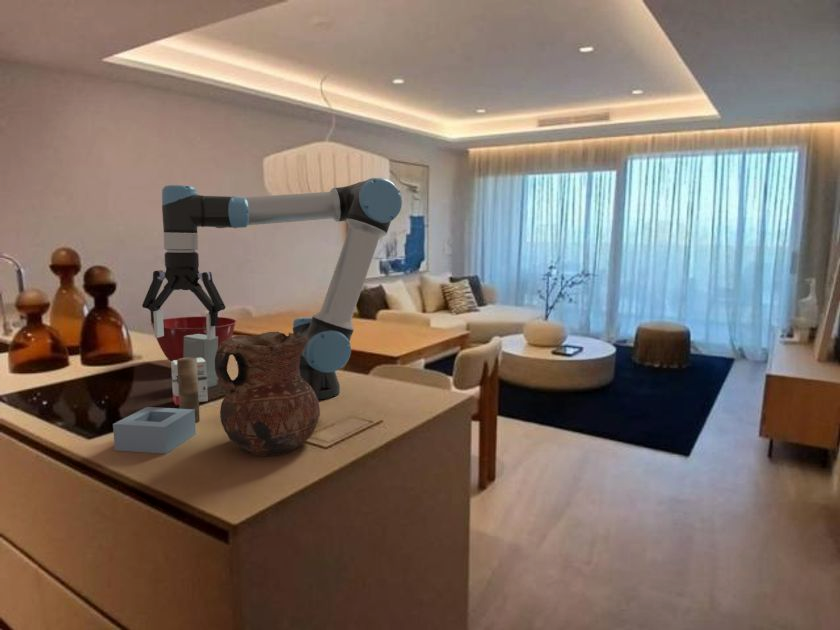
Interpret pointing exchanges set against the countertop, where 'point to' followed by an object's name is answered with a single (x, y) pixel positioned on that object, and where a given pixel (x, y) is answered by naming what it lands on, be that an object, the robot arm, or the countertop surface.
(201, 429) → the countertop surface
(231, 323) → the mixing bowl
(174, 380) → the ink box
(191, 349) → the skincare box
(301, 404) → the jug
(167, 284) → the robot arm
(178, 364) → the peg
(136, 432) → the socket
